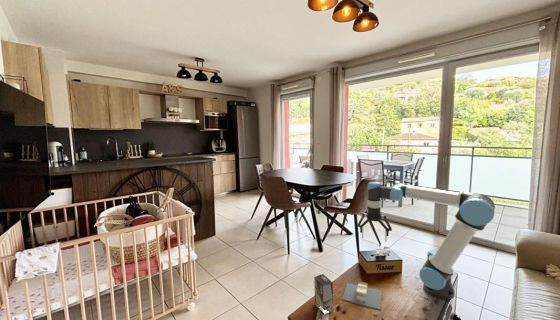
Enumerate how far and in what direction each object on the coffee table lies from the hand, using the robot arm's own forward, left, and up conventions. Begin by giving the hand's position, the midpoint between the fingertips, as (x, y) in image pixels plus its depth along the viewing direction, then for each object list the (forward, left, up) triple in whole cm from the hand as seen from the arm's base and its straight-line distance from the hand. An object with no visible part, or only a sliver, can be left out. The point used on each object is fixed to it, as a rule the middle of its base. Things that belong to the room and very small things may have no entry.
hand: (374, 239), depth 145 cm
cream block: (+5, +20, -26) cm, 33 cm away
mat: (+5, +20, -27) cm, 34 cm away
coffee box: (+23, +38, -27) cm, 52 cm away
